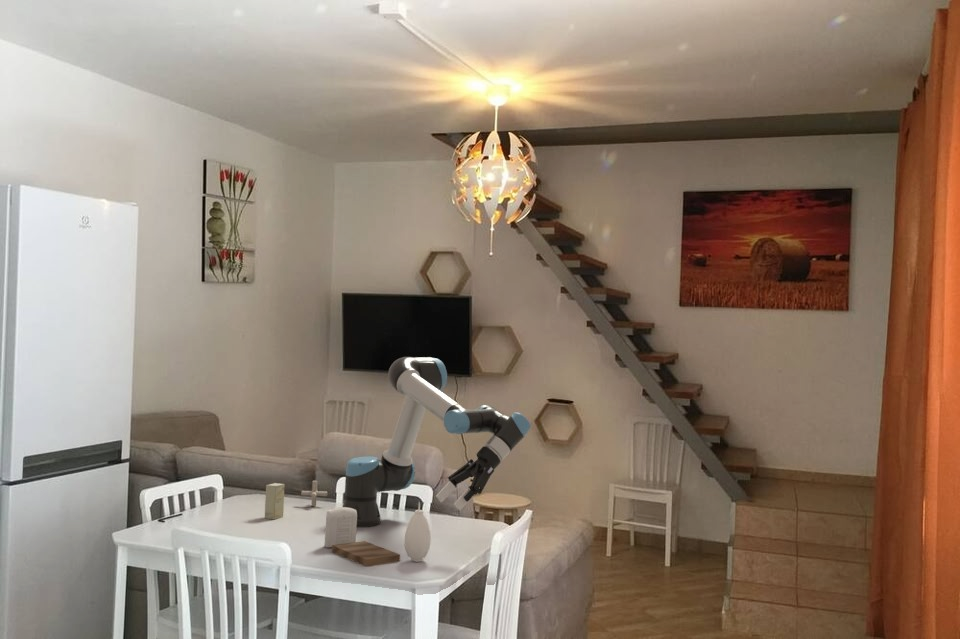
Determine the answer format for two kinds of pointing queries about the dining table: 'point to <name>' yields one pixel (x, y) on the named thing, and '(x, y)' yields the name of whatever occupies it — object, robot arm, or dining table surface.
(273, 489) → the skincare box
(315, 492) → the pipe connector
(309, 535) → the dining table surface
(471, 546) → the dining table surface
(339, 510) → the beige engraved tablet
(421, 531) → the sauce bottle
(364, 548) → the walnut board
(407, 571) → the dining table surface
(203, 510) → the dining table surface
